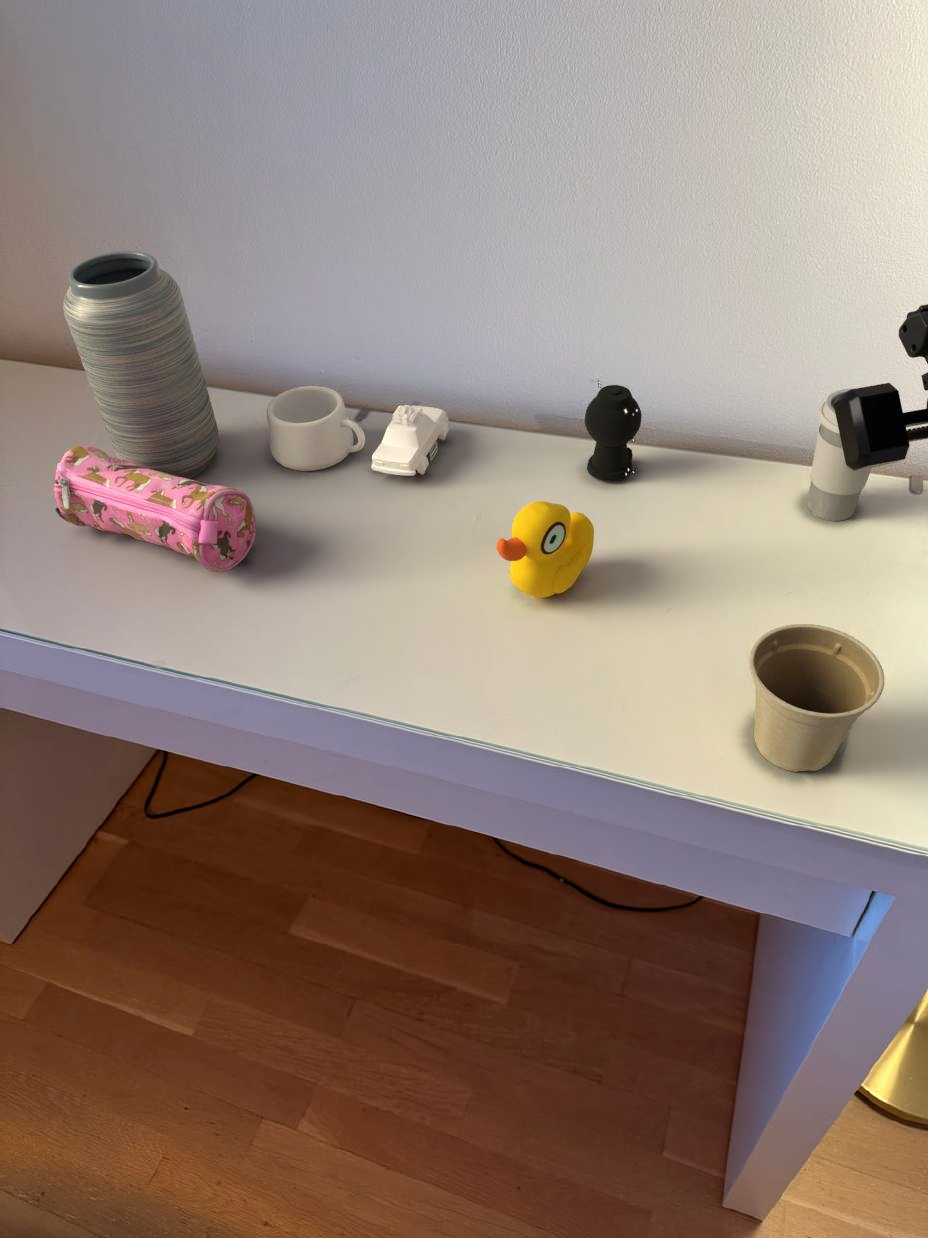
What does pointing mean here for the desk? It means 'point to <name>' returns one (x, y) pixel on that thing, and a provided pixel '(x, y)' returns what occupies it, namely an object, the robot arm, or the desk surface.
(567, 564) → the duckling
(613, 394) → the gumball machine
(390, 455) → the toy car
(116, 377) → the vase
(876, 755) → the desk surface
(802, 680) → the flower pot
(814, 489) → the cup
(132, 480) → the pencil case
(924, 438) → the robot arm
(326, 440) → the mug
